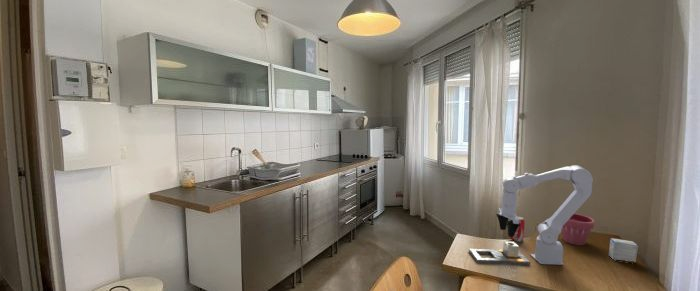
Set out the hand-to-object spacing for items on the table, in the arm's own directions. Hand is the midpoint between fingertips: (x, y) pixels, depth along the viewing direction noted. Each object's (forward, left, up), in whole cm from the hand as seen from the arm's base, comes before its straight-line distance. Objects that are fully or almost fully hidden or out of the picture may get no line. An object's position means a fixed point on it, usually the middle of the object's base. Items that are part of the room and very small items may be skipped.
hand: (506, 232), depth 130 cm
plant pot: (-41, -15, -10) cm, 45 cm away
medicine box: (-49, +3, -10) cm, 50 cm away
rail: (+6, +6, -9) cm, 13 cm away
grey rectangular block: (+1, +6, -10) cm, 11 cm away
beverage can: (-12, -14, -10) cm, 21 cm away
